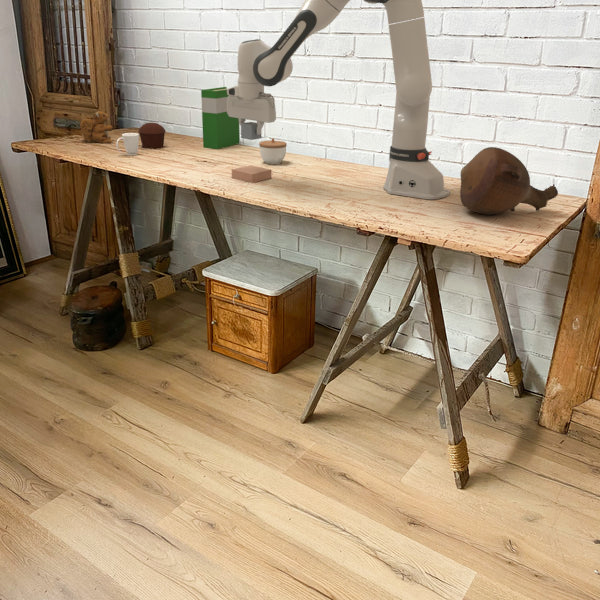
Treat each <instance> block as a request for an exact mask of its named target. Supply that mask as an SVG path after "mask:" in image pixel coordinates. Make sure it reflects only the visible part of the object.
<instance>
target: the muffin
mask: <svg viewBox="0 0 600 600" xmlns="http://www.w3.org/2000/svg"><path fill="white" fill-rule="evenodd" d="M137 132H138V134H139V139H140V143H141V147H142V148H143V147H144V148H143V149H147V148H153V149H156V148H157V149H161V148H164V144H165V133H166V132H167V131H166V129H165V128H164V127H163V126H162V125H161V124H159V123H157V122H145V123H144V124H142V125H141V126H140V127H139V129H138V131H137ZM157 149H156V150H157Z"/></svg>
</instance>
